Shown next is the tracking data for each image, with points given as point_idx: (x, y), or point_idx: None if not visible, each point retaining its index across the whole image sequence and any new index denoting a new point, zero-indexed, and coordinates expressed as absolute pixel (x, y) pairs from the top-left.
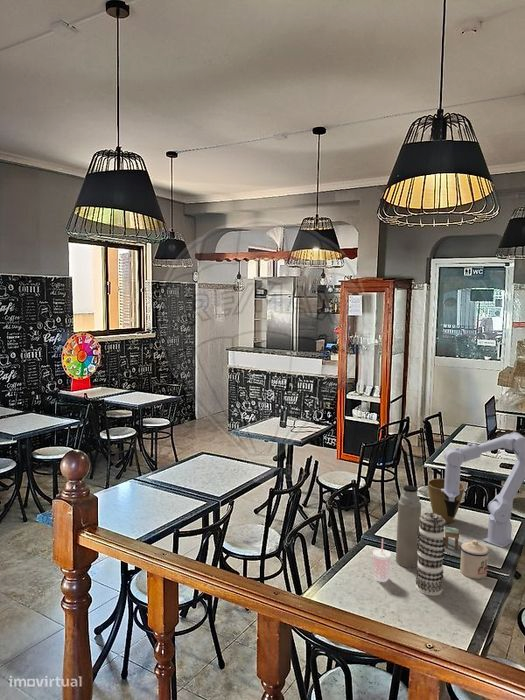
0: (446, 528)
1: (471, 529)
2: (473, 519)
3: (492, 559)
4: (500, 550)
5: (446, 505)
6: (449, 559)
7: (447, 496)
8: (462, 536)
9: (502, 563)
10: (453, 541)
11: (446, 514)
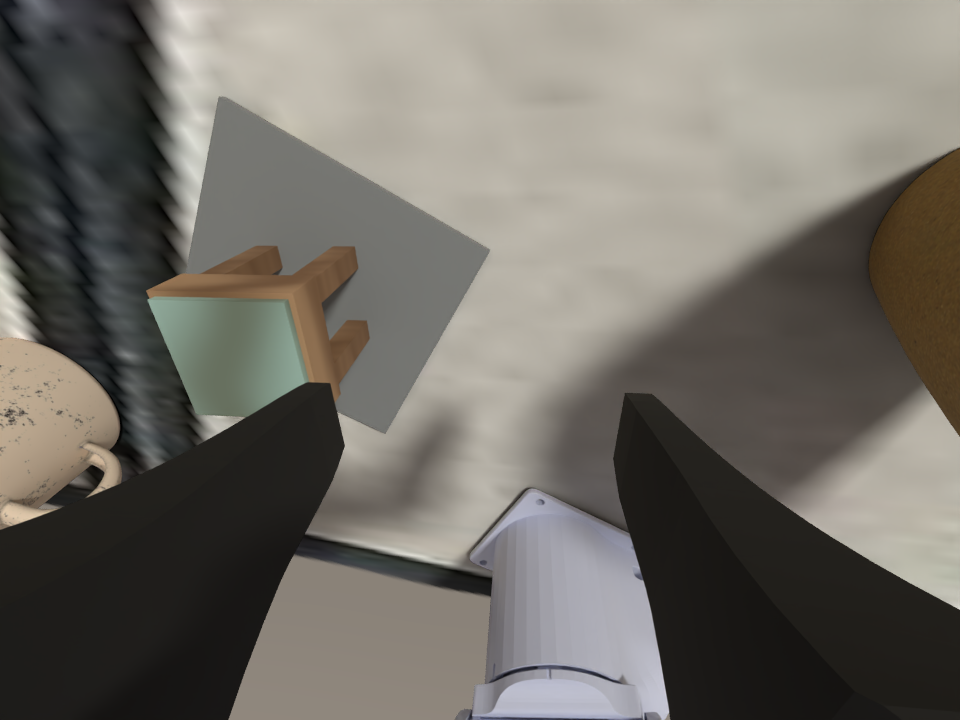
0: (238, 308)
1: (728, 441)
2: (955, 470)
3: None
4: (433, 540)
5: (68, 511)
6: (109, 274)
7: (738, 617)
8: (568, 376)
9: None
10: (417, 312)
11: (908, 293)
